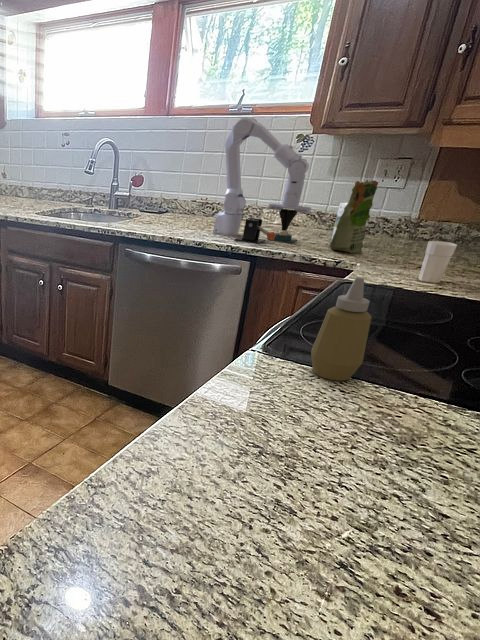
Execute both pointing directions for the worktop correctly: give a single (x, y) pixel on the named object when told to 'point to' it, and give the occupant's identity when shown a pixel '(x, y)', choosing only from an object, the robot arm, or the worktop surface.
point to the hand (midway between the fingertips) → (284, 230)
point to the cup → (436, 260)
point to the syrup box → (338, 216)
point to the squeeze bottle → (343, 336)
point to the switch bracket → (251, 232)
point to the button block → (283, 238)
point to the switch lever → (267, 233)
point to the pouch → (354, 218)
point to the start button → (283, 232)
